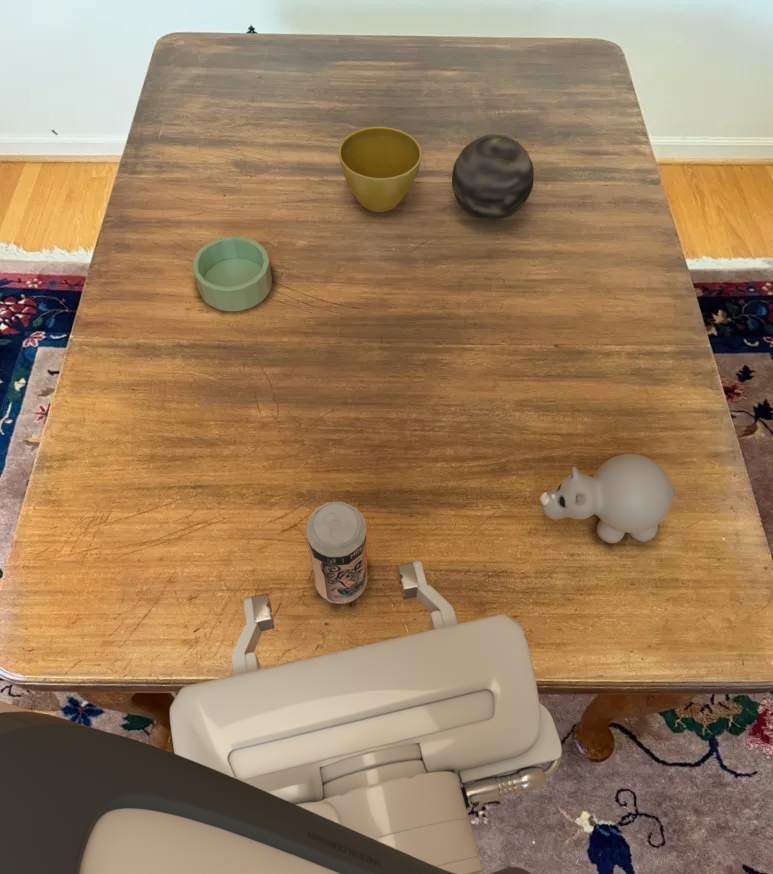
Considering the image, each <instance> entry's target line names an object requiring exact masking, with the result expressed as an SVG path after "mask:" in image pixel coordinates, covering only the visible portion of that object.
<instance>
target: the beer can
mask: <svg viewBox="0 0 773 874" xmlns="http://www.w3.org/2000/svg"><path fill="white" fill-rule="evenodd" d="M364 517H365V516H363V513H361V511H359V510H358V509H357V508H356V507H355V506H353V505H351V504H348V503H346V502H344V501H332V502H326V503H325V504H322V505H321V506H319V507H317V508H316V509H315V510H314V511H313V512H312V513H311V515H310V516H309V518H308V519H307V523H306V525H305V526H306V527H305V533H306V534H305V535H306V539H307V545H308V550H309V557H310V561H311V567H312V572H313V578H314V584H315V588H316V590H317V592H318V593H319V595H320V596H321V597H322V598H324V599H325V600H327V601H328V602H330V603H333V604H348V603H350V602H353V601H355V600H357V599H358V598H359V597H360V596H361V595H362V594H363V592H364V591H365V589H366V586H367V583H368V544H367V543H368V540H367V538H368V537H367V536H368V535H367V523H366V519H365V518H364Z"/></svg>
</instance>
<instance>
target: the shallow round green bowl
mask: <svg viewBox="0 0 773 874" xmlns="http://www.w3.org/2000/svg"><path fill="white" fill-rule="evenodd" d="M191 264H192V272H193V276H194V281H195V282H196V287H197V291H198V293H199V295H200V297H201V299H202V300H203V302H204V303H206V304H207V305H208V306H210V307H212V308H214V309H217V310H219V311H225V312H238V311H239V312H240V311H241V312H242V311H245V310H248V309H251V308H254V307H255V306H257V305H259V304H260V303H262V302H263V301H264V300H266V298H267V296H268V295H269V294H270V292H271V290H272V285H273V277H272V270H271V265H270V257H269V253H268V251H267V250H266V249H265V248H264V246H263V245H262V244H261V243H260V242H258V241H256V240H254V239H252V238H250V237H248V236H239V235H229V236H222V237H218V238H215V239H213V240H211V241H209V242H207V243H205V244H204V245H202V247H201V248H200V249H199V250H197V251H196V254H195V255H194V258H193V260H192V263H191Z"/></svg>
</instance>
